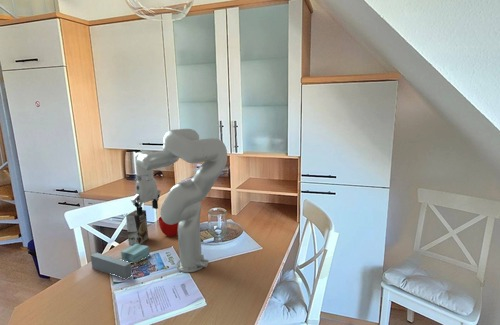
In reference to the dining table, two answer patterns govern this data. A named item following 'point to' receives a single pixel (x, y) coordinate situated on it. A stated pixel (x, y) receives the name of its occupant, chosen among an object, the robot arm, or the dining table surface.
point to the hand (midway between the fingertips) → (147, 211)
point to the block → (135, 253)
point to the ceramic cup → (168, 228)
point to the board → (111, 265)
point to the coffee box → (137, 227)
